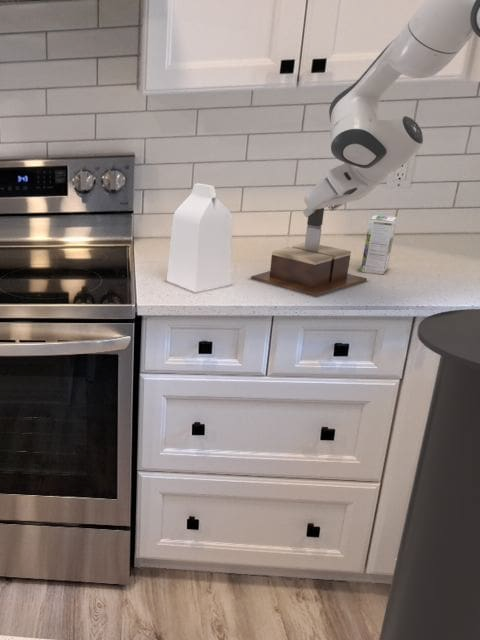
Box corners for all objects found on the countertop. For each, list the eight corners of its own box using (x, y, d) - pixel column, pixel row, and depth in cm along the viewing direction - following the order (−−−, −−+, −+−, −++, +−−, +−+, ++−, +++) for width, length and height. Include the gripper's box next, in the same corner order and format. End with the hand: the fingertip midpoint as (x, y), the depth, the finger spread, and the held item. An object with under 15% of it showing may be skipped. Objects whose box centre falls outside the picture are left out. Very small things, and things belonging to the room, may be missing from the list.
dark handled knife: (320, 255, 178) (327, 197, 172) (314, 256, 177) (322, 198, 172) (306, 252, 182) (313, 195, 176) (301, 253, 181) (308, 196, 175)
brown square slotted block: (366, 281, 179) (371, 251, 176) (315, 297, 170) (320, 266, 167) (299, 266, 195) (303, 238, 192) (250, 279, 186) (253, 250, 183)
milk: (166, 281, 188) (170, 184, 177) (200, 274, 192) (206, 179, 182) (195, 293, 178) (201, 191, 167) (230, 285, 182) (238, 185, 171)
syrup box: (364, 266, 191) (372, 214, 185) (388, 269, 187) (397, 216, 182) (360, 272, 187) (368, 218, 181) (384, 275, 183) (393, 220, 177)
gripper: (379, 160, 169) (338, 195, 181) (324, 170, 160) (285, 207, 172) (394, 180, 167) (351, 214, 179) (339, 192, 158) (298, 228, 170)
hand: (318, 211), depth 175 cm, fingers open, 8 cm apart
